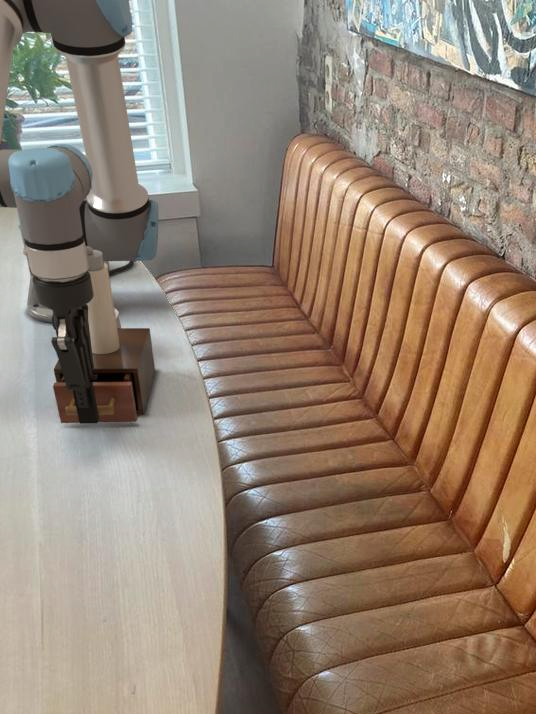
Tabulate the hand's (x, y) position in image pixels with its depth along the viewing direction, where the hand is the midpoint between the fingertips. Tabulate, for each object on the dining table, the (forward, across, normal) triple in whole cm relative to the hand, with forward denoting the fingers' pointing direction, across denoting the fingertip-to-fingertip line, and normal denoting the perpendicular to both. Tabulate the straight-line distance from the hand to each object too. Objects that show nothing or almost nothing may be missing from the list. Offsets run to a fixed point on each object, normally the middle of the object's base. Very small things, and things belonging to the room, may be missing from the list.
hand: (89, 421), depth 119 cm
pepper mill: (-4, -17, 0) cm, 17 cm away
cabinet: (+4, -17, 0) cm, 17 cm away
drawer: (+3, -10, 0) cm, 11 cm away
